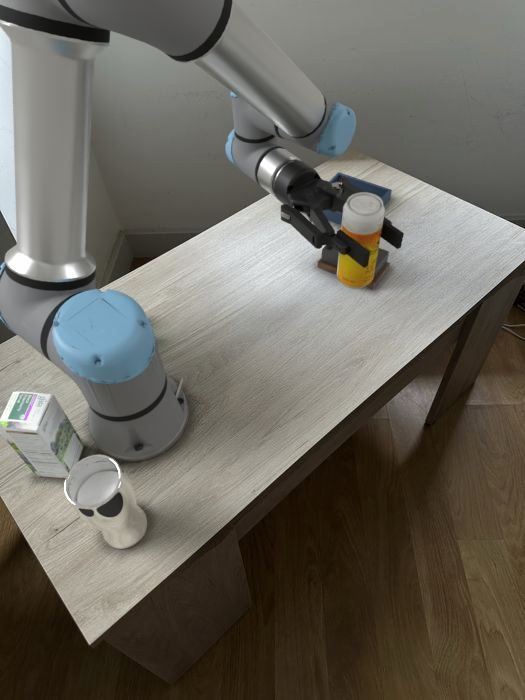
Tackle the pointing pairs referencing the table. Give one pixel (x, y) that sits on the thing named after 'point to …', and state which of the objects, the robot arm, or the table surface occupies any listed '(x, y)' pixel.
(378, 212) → the beer can
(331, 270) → the sharpening stone
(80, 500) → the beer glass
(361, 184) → the tray
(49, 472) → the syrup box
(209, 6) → the robot arm
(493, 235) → the table surface
